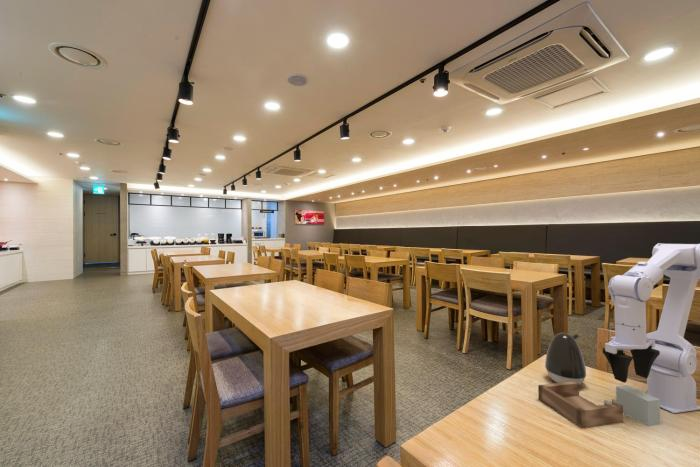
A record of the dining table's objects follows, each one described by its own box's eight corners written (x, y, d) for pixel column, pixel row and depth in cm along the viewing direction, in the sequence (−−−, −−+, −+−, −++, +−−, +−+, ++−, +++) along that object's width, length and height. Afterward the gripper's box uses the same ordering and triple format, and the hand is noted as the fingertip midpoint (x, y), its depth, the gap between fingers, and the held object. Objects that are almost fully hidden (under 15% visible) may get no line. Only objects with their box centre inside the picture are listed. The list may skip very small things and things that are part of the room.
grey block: (629, 407, 77) (629, 384, 77) (662, 424, 71) (661, 399, 71) (616, 409, 77) (616, 386, 77) (648, 426, 70) (647, 400, 70)
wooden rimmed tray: (575, 395, 83) (574, 377, 83) (623, 422, 71) (623, 401, 71) (538, 399, 81) (538, 381, 81) (582, 428, 69) (581, 407, 69)
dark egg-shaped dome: (595, 388, 87) (594, 336, 88) (568, 393, 85) (567, 340, 85) (562, 373, 97) (562, 326, 97) (537, 377, 94) (536, 329, 95)
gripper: (631, 317, 80) (632, 367, 80) (591, 322, 76) (592, 375, 76) (665, 324, 73) (666, 380, 73) (623, 330, 69) (624, 388, 69)
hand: (631, 378), depth 74 cm, fingers open, 7 cm apart
